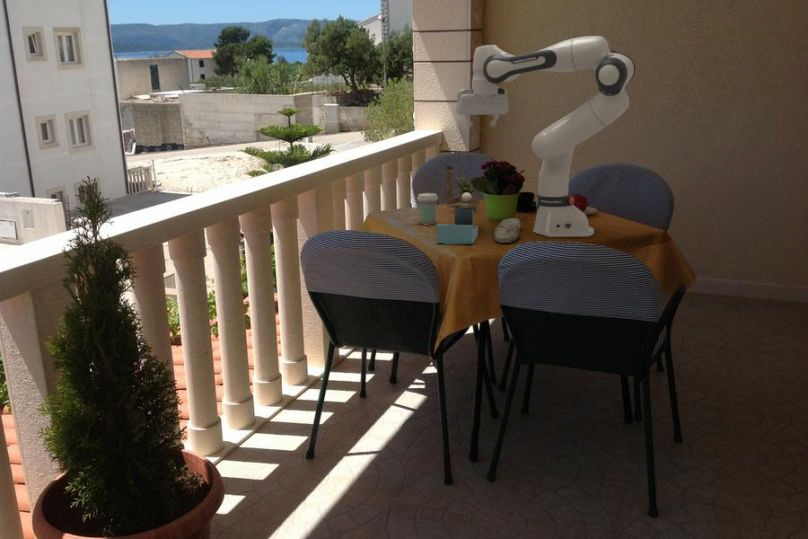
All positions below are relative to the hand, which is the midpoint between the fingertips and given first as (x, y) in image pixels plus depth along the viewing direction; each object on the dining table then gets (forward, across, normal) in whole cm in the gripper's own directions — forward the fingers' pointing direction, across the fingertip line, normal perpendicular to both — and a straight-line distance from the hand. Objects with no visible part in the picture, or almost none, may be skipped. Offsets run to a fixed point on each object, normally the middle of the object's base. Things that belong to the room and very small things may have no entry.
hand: (481, 126), depth 278 cm
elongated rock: (+39, +6, -17) cm, 43 cm away
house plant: (+41, +6, +28) cm, 50 cm away
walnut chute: (+31, -10, -7) cm, 33 cm away
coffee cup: (+40, -16, +12) cm, 45 cm away
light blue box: (+39, -16, -19) cm, 46 cm away
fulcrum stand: (+39, -8, -7) cm, 40 cm away
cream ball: (+27, -5, -1) cm, 28 cm away
